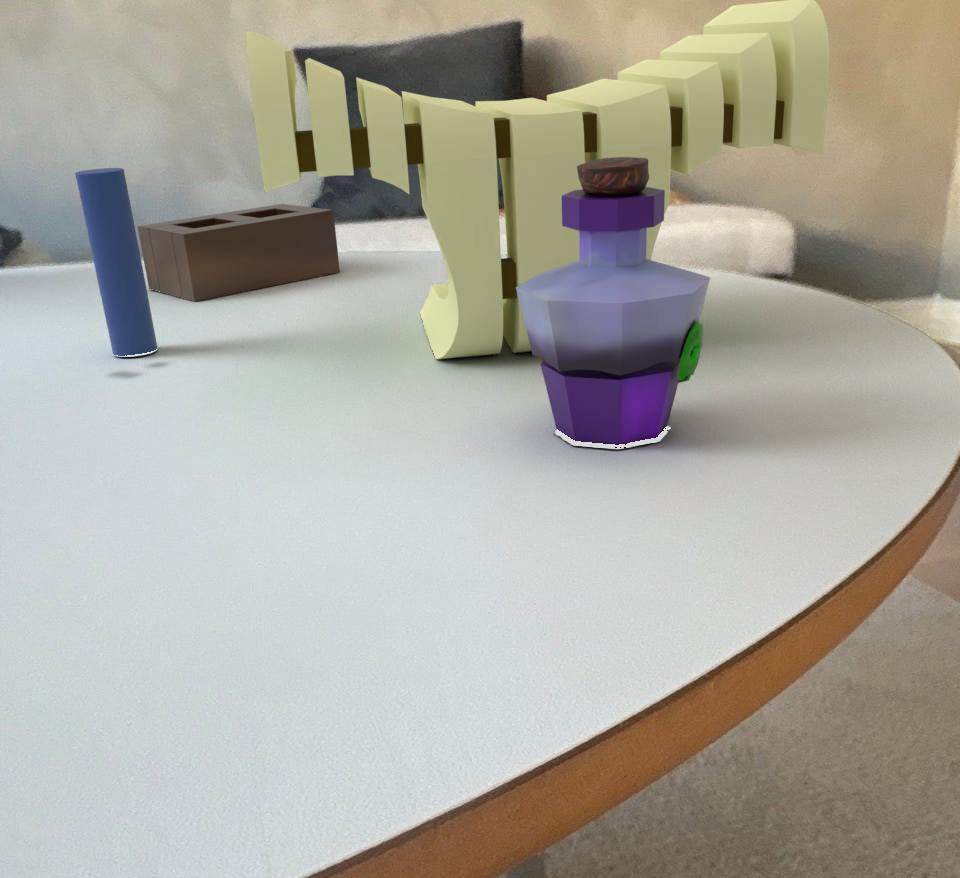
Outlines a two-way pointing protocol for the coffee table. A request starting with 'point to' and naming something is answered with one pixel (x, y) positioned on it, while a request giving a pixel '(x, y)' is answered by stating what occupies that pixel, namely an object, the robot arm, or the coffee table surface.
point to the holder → (239, 250)
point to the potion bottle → (614, 312)
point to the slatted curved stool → (545, 148)
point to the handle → (117, 260)
